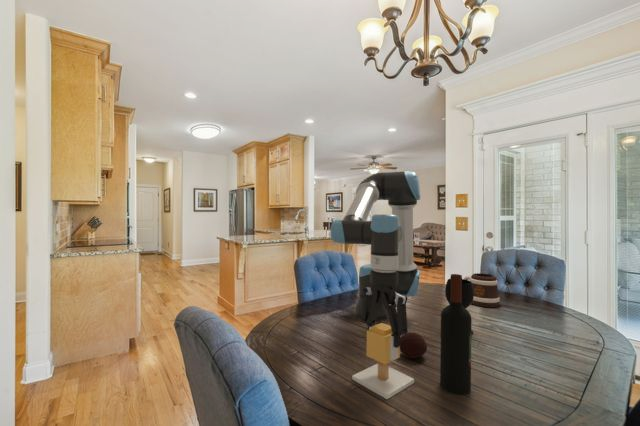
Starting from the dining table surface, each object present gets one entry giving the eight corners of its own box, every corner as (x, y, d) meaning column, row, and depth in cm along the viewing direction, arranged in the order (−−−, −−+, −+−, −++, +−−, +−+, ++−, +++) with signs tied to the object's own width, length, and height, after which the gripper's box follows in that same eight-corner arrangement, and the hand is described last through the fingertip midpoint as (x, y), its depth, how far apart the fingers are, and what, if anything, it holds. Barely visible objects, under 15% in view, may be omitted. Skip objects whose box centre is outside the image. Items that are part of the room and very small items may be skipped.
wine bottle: (435, 379, 86) (436, 272, 86) (460, 378, 86) (462, 272, 86) (448, 395, 78) (449, 278, 78) (476, 394, 79) (478, 277, 79)
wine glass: (476, 337, 116) (477, 284, 116) (447, 334, 118) (448, 282, 118) (469, 327, 126) (469, 278, 126) (442, 325, 128) (442, 277, 128)
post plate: (352, 379, 85) (352, 357, 85) (379, 365, 93) (379, 346, 93) (387, 399, 76) (387, 375, 76) (414, 382, 84) (414, 360, 84)
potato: (395, 351, 103) (395, 328, 103) (423, 351, 103) (423, 328, 103) (401, 362, 95) (401, 337, 95) (431, 363, 95) (431, 338, 95)
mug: (506, 305, 157) (506, 276, 157) (487, 309, 150) (488, 279, 150) (471, 296, 174) (471, 270, 174) (453, 299, 167) (453, 272, 167)
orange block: (366, 355, 85) (366, 326, 85) (381, 349, 89) (381, 321, 89) (385, 364, 80) (385, 332, 80) (399, 357, 84) (400, 327, 84)
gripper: (349, 266, 90) (348, 345, 89) (406, 277, 75) (405, 371, 75) (366, 264, 94) (365, 339, 94) (423, 273, 80) (422, 362, 79)
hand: (383, 353), depth 84 cm, fingers closed on orange block, 6 cm apart
